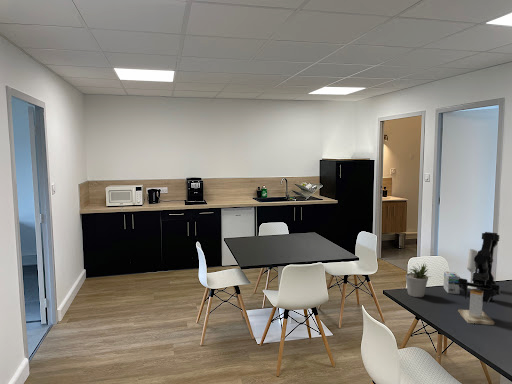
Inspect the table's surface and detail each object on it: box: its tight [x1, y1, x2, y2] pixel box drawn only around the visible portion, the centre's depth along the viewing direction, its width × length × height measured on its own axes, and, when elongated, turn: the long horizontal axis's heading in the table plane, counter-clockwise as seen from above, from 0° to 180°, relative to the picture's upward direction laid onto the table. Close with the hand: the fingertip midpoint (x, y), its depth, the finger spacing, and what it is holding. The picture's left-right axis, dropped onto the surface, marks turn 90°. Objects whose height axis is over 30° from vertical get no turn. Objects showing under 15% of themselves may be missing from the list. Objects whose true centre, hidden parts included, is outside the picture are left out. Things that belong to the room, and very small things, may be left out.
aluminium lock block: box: [468, 289, 484, 319], centre depth 198 cm, size 5×5×13 cm
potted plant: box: [405, 261, 431, 298], centre depth 231 cm, size 13×14×20 cm
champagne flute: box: [465, 248, 478, 290], centre depth 247 cm, size 7×7×24 cm
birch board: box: [457, 309, 495, 326], centre depth 199 cm, size 12×14×2 cm
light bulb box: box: [442, 270, 461, 295], centre depth 240 cm, size 11×7×11 cm, turn 168°
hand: (476, 300), depth 197 cm, fingers open, 9 cm apart
